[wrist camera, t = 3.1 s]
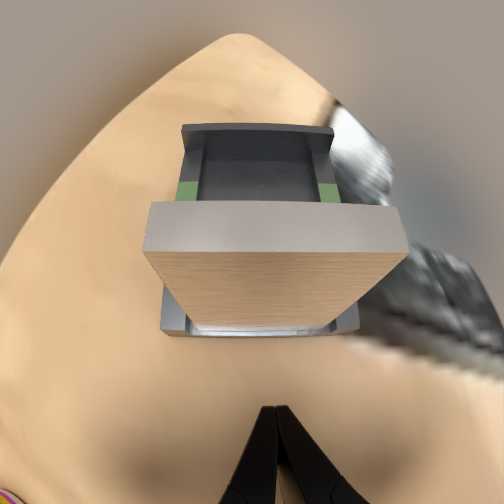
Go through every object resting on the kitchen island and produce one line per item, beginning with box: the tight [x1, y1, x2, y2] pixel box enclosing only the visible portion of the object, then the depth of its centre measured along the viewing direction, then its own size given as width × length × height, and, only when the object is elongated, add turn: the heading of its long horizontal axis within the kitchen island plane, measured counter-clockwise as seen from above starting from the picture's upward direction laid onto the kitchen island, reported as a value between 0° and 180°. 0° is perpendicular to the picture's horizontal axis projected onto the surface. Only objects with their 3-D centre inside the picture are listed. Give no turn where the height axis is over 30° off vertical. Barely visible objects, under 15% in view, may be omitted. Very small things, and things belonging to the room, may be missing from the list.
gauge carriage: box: [142, 201, 410, 331], centre depth 12 cm, size 4×12×10 cm, turn 90°
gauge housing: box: [160, 123, 360, 338], centre depth 18 cm, size 14×11×4 cm
